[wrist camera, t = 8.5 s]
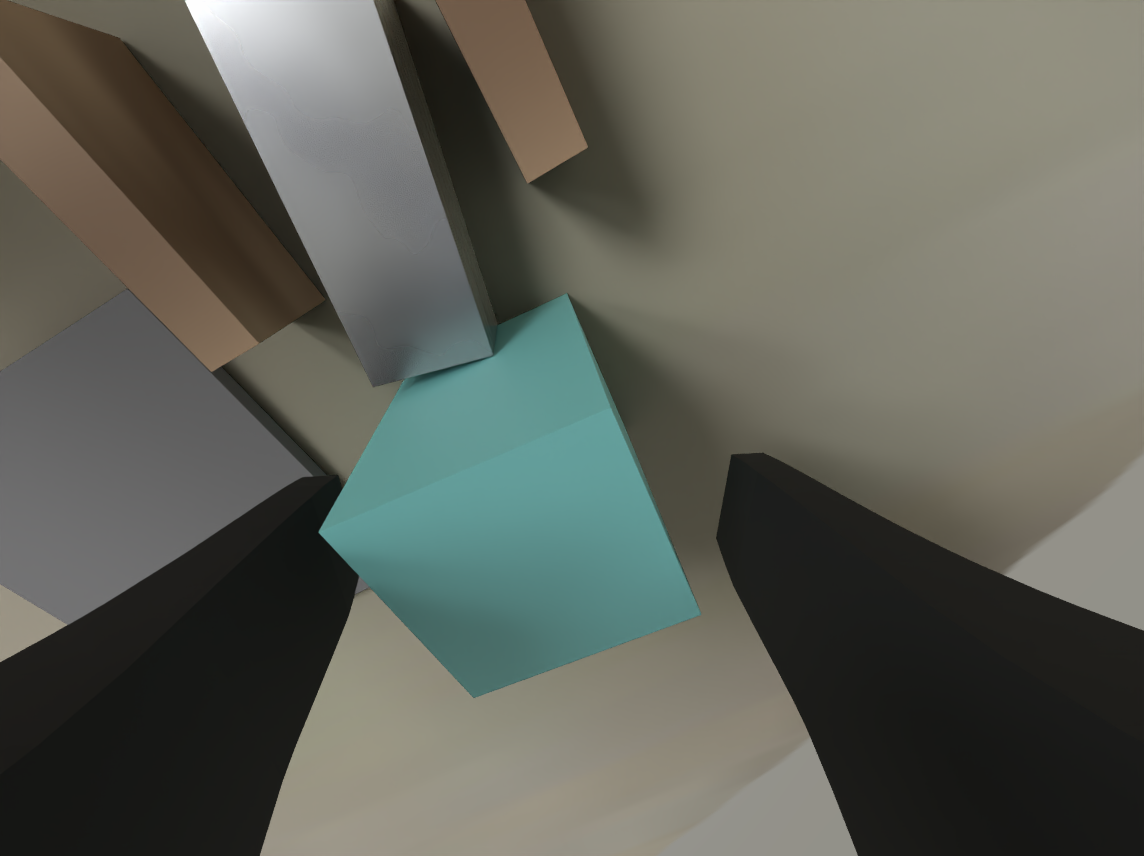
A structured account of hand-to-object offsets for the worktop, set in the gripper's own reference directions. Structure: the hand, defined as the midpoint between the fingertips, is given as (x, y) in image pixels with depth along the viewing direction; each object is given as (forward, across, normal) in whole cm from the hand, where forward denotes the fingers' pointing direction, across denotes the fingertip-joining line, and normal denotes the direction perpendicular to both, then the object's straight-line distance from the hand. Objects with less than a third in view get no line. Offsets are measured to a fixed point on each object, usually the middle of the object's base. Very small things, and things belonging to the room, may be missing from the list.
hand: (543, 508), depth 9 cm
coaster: (+4, +10, +2) cm, 11 cm away
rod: (+4, +3, -5) cm, 7 cm away
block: (+4, 0, 0) cm, 4 cm away
